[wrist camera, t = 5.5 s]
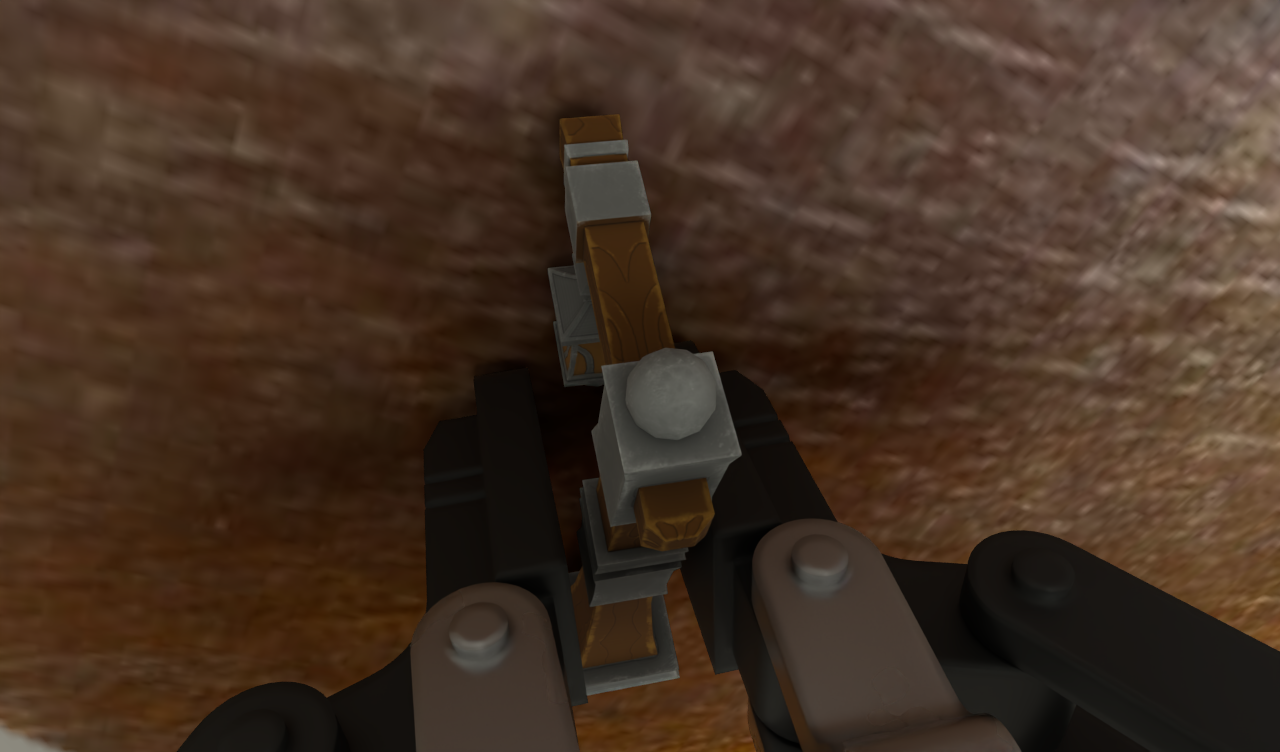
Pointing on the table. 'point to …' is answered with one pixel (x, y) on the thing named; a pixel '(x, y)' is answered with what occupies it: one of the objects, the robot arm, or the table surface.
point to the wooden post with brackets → (630, 415)
